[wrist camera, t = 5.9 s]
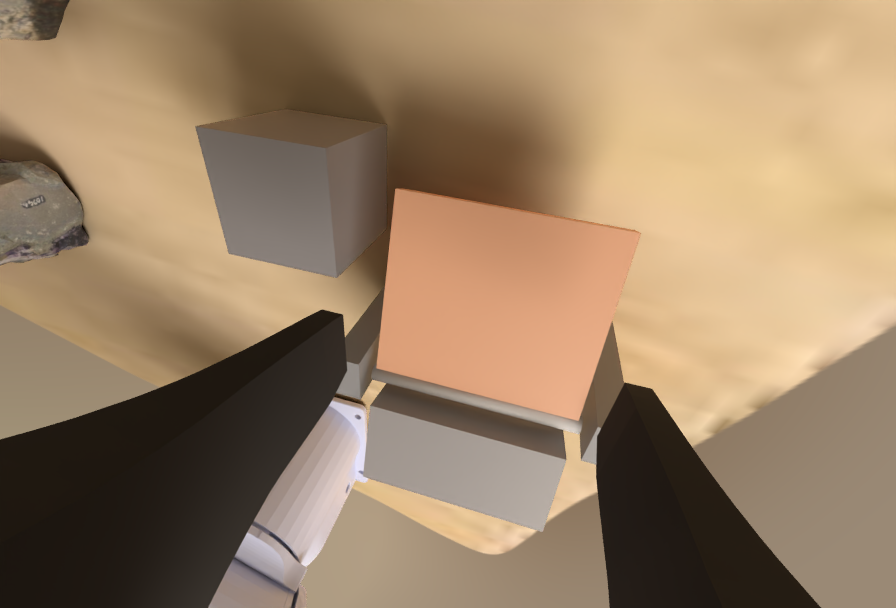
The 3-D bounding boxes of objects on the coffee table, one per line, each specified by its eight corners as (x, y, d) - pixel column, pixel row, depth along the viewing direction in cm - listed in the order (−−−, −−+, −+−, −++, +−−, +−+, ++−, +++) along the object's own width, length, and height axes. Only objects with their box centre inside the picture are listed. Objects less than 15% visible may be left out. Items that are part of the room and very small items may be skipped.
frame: (596, 360, 20) (609, 476, 14) (392, 312, 22) (335, 400, 16) (612, 322, 18) (633, 436, 13) (393, 274, 20) (330, 357, 15)
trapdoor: (550, 488, 17) (552, 535, 15) (376, 438, 18) (354, 473, 16) (635, 228, 13) (655, 238, 11) (404, 187, 14) (380, 188, 12)
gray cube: (387, 228, 19) (336, 277, 15) (300, 211, 20) (228, 253, 15) (387, 124, 16) (325, 148, 12) (286, 108, 17) (195, 126, 13)
